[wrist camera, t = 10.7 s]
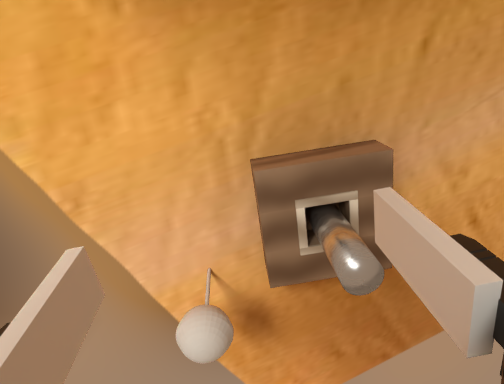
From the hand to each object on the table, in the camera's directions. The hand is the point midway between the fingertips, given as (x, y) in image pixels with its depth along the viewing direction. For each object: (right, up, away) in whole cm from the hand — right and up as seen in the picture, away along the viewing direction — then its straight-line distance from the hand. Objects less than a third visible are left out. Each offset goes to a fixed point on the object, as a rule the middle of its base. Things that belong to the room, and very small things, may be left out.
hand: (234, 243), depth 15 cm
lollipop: (-5, -9, +33) cm, 34 cm away
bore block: (+10, 0, +30) cm, 32 cm away
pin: (+10, 0, +29) cm, 31 cm away
